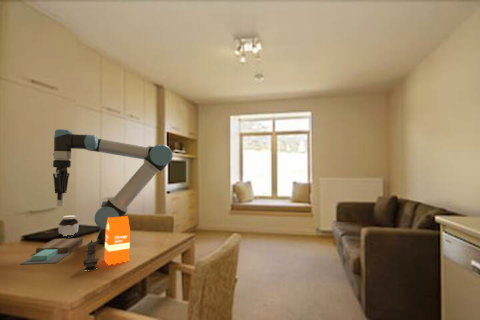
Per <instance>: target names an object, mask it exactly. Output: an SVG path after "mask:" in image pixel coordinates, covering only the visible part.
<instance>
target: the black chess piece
mask: <svg viewBox="0 0 480 320" xmlns="http://www.w3.org/2000/svg"><path fill="white" fill-rule="evenodd" d="M96 252H97V250H96V243H95V242H93V240H92V239H91V240H90V242H88V243H87V249H86V257H85V258H86V259H84V260H83V261H82V263H83V266H84V268H83V270H87V271H86V272H89V271H88V270H94V269H96V268H97V264H98V263H99V258H97V257H96ZM96 270H97V269H96ZM94 271H95V270H94Z"/></svg>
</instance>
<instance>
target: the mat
mask: <svg viewBox="0 0 480 320" xmlns="http://www.w3.org/2000/svg"><path fill="white" fill-rule="evenodd" d="M70 254H71V252H70V253H58V254H56V255H54V256H53V257H51V258H50V259H48V260H34V261H32V257H30V258H28V259H26V260H25V261H22V262H21V263H20V265H22V266H23V265H45V264H46V265H48V264H57V263H59V262H60V261H62V260H63V259H64V258H66V257H68V256H69V255H70Z"/></svg>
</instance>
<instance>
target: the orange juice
mask: <svg viewBox="0 0 480 320" xmlns="http://www.w3.org/2000/svg"><path fill="white" fill-rule="evenodd" d="M129 222H130V221H129V215H126V216H125V215H124V216H122V217H111V218H108V221H107V225H106V234H105V244H104V262H105V263H106V265H107V264H108V265H107V266H111V264H113V265H117V264H116V263H119V264H123V263H122V262H124V263H128V262H127V261H129V262H130V247H131V246H130V245H131V242H130V241H131V238H130V235H131V226H130V223H129Z"/></svg>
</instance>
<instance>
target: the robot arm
mask: <svg viewBox="0 0 480 320" xmlns="http://www.w3.org/2000/svg"><path fill="white" fill-rule="evenodd" d="M53 136H54V137H53V153H52V156H53V163H52V166H53V168H56V169H55V173H52V177H53V185H54V194H56V207H64V205H65V194H67V191H68V190H67V189H68V183H69V177H70V173H69V172H68V168H69V169H70V168H71V163H72V161H71V159H72V149H75V150H76V149H77V150H87V151H88V152H89V151H90V152H96V153H104V154H109V155H114V156H121V157H127V158H132V159H139V160H143V164H142V165H141V166H140V167H139V168H138V169H137V171H136V172H135V173H134V174H133V175H132V176H131V178H130V179H129V180H128V181H127V182H126V183H125V184H124V185H123V187H122V188H121V189H120V190H119V191H118V192H117V193H116V194H115V196H114V197H109V198H108V199H107V200H105V201H102V202H101V205H100V208H99V209H97V211H96V212H95V213H94V223H95V225H96V226H97V227H98V228H99V231H98V235H97V238H96V243H97V244H99V245H105V234H106V225H107V221H108V218H111V217H122V216H125V215H126V213H128V207H129V206H130V205H131V203H133V201H134V200H135V199H136V198H137V196H138V195H139V194H140V193H141V192H142V190H143V189H144V188H145V187H146V186H147V185H148V184H149V182H150V181H151V180H152V179H153V178H154V177H155V175H156V174H157V173H161V172H163V170H164V169H165V168H166V167H167V165H168V164H170V163H171V161H172V160H173V155H174V154H173V151H172V149H171V148H170V147H169V146H168V145H166V144H161V143H159V144H156V145H155V146H151V145H148V146H144V145H143V146H142V145H136V144H131V143H125V142H119V141H115V140H114V141H113V140H107V139H102V138H98V136H97V135H94V134H75V133H73V131H72V130H70V129H61V128H60V129H55V131H54V135H53Z"/></svg>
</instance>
